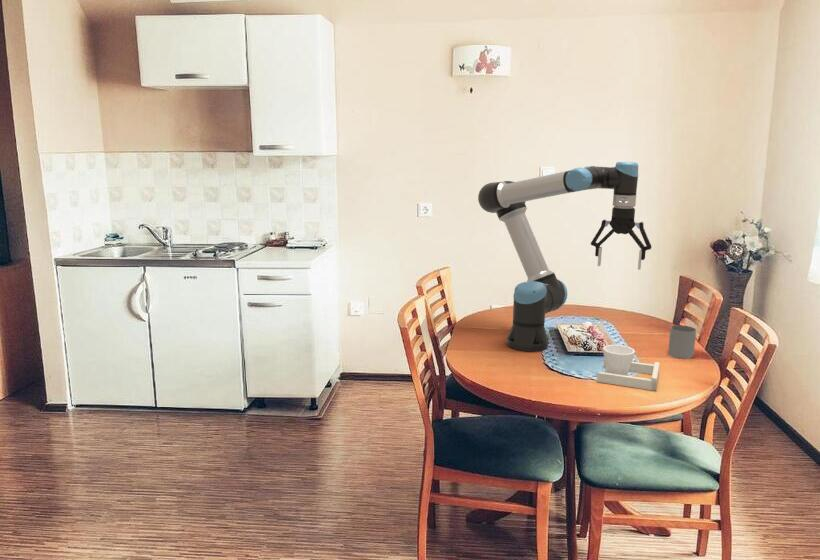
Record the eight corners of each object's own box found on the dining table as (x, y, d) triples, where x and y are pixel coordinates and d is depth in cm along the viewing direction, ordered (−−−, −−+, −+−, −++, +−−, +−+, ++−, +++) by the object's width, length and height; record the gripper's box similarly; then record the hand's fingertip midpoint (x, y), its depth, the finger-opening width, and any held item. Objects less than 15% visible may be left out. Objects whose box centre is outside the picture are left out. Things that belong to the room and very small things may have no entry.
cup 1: (594, 373, 213) (596, 346, 211) (618, 369, 217) (620, 343, 215) (615, 383, 204) (617, 356, 202) (639, 379, 208) (641, 352, 206)
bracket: (597, 381, 205) (598, 370, 204) (604, 366, 220) (604, 355, 219) (655, 390, 199) (656, 378, 198) (658, 373, 213) (659, 362, 212)
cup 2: (695, 359, 227) (698, 332, 225) (670, 358, 229) (673, 331, 226) (690, 352, 235) (693, 325, 233) (666, 350, 237) (669, 324, 235)
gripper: (585, 206, 224) (581, 265, 228) (661, 210, 214) (655, 272, 219) (588, 204, 230) (584, 262, 235) (662, 207, 221) (657, 268, 225)
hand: (618, 267), depth 227 cm, fingers open, 13 cm apart
